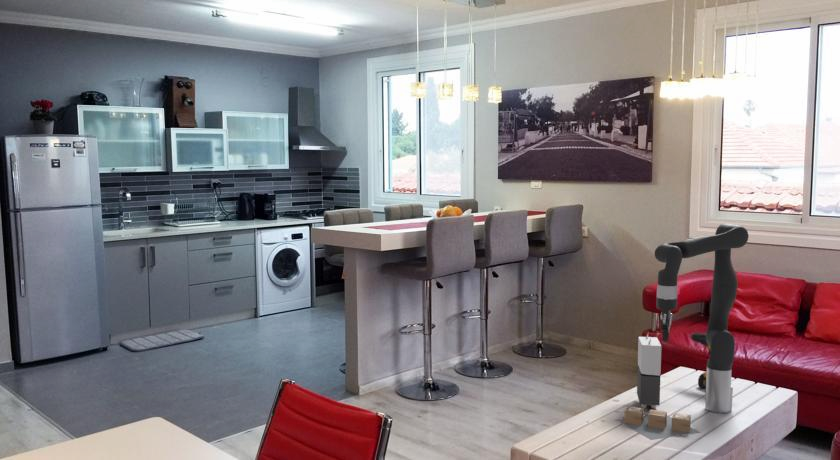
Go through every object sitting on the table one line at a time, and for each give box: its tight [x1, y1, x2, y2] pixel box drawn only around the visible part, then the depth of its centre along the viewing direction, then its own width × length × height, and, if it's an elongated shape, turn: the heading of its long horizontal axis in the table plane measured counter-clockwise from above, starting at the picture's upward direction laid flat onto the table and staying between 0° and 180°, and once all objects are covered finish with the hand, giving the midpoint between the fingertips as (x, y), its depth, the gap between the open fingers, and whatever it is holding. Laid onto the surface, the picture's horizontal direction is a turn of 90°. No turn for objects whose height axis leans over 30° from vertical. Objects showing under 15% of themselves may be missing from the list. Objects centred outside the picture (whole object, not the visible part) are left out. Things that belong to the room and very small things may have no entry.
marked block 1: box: [624, 405, 645, 426], centre depth 278 cm, size 6×6×5 cm
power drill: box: [689, 332, 711, 390], centre depth 324 cm, size 8×21×25 cm, turn 32°
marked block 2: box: [671, 412, 692, 433], centre depth 271 cm, size 6×6×5 cm
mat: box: [615, 414, 702, 441], centre depth 275 cm, size 22×22×1 cm
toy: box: [636, 331, 662, 410], centre depth 298 cm, size 15×7×30 cm, turn 168°
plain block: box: [647, 409, 668, 430], centre depth 274 cm, size 6×6×5 cm
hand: (665, 340), depth 281 cm, fingers closed
